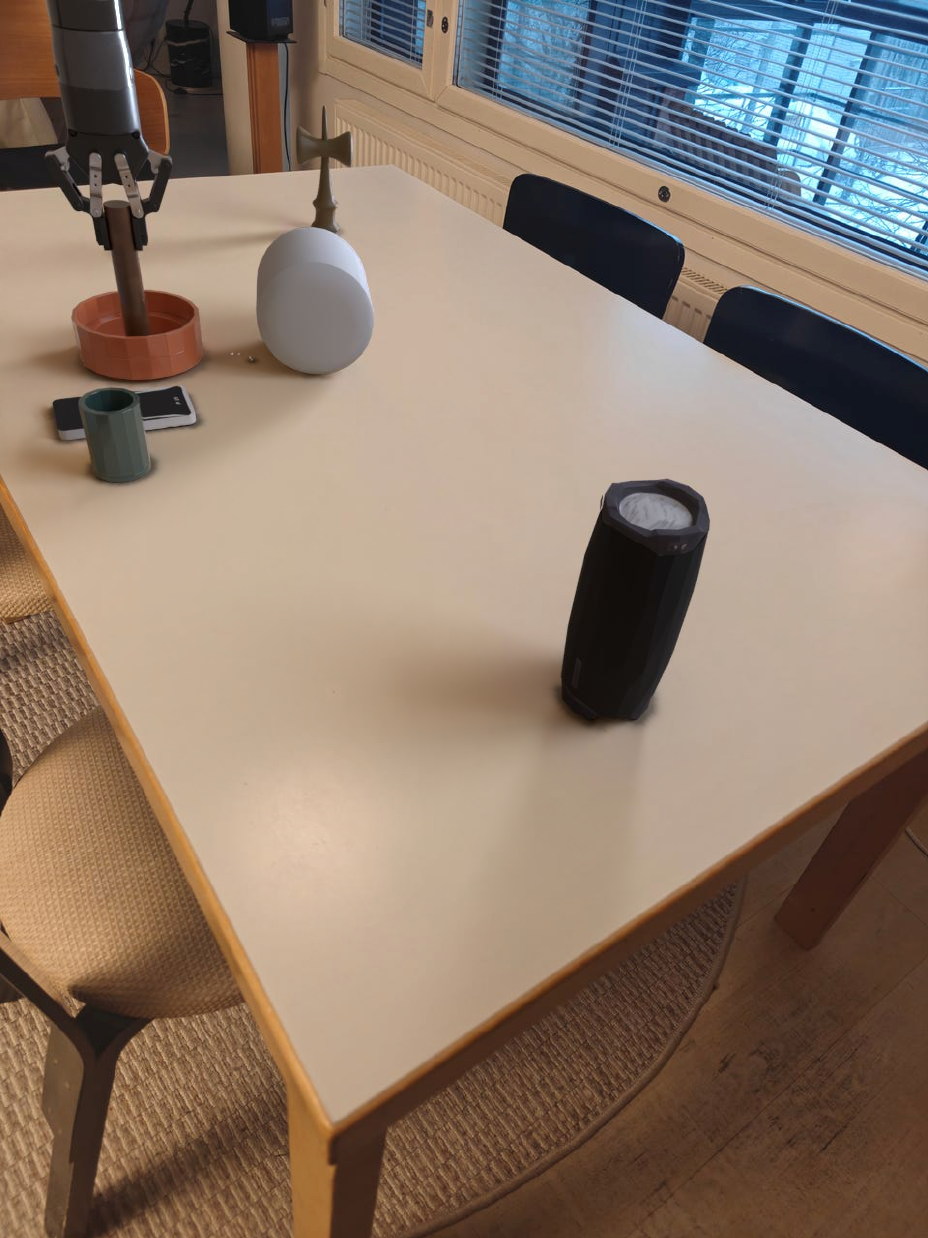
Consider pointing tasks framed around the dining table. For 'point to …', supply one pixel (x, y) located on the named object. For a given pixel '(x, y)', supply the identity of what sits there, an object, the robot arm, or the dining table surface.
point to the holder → (115, 434)
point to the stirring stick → (127, 267)
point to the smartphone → (156, 405)
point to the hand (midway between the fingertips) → (123, 247)
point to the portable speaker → (632, 596)
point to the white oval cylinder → (313, 301)
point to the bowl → (138, 337)
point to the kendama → (324, 168)
